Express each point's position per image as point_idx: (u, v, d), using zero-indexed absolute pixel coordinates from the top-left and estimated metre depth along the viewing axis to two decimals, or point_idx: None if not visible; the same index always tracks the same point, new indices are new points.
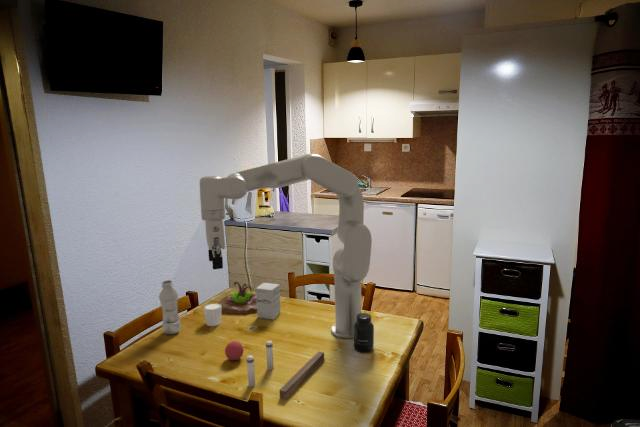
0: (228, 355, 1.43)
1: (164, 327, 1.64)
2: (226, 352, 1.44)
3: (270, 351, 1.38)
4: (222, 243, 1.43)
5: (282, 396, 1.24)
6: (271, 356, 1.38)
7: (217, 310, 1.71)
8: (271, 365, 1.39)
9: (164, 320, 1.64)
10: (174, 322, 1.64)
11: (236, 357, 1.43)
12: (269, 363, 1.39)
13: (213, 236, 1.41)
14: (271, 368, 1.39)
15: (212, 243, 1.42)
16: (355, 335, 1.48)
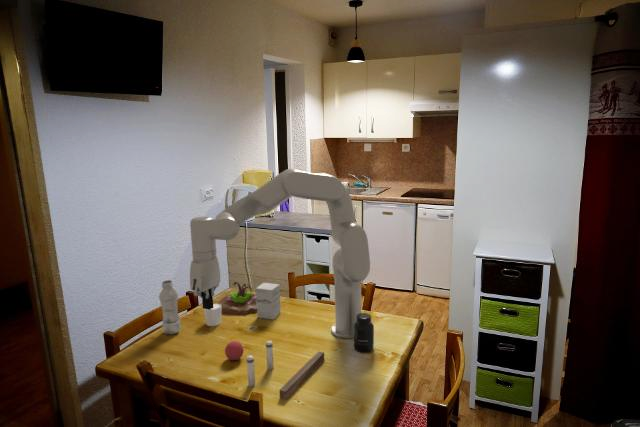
0: (228, 355, 1.43)
1: (164, 327, 1.64)
2: (226, 352, 1.44)
3: (270, 351, 1.38)
4: None
5: (282, 396, 1.24)
6: (271, 356, 1.38)
7: (218, 310, 1.71)
8: (271, 365, 1.39)
9: (164, 320, 1.64)
10: (174, 322, 1.64)
11: (236, 357, 1.43)
12: (269, 363, 1.39)
13: None
14: (271, 368, 1.39)
15: None
16: (355, 335, 1.48)
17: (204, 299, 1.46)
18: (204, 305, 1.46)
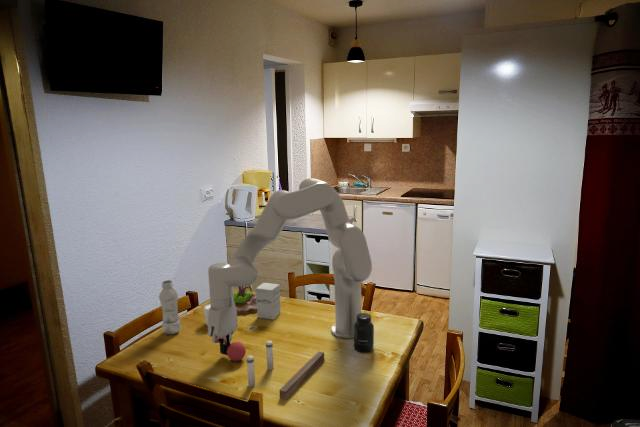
0: (230, 356, 1.43)
1: (164, 327, 1.64)
2: (228, 353, 1.43)
3: (270, 351, 1.38)
4: None
5: (282, 396, 1.24)
6: (271, 356, 1.38)
7: None
8: (271, 365, 1.39)
9: (164, 320, 1.64)
10: (174, 322, 1.64)
11: (238, 359, 1.43)
12: (269, 363, 1.39)
13: None
14: (271, 368, 1.39)
15: None
16: (355, 335, 1.48)
17: (222, 345, 1.46)
18: (222, 351, 1.46)
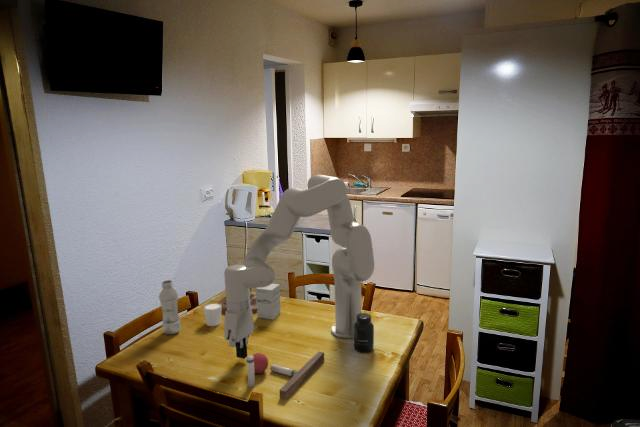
0: None
1: (164, 327, 1.64)
2: (255, 372, 1.37)
3: None
4: None
5: (282, 396, 1.24)
6: None
7: (217, 310, 1.71)
8: None
9: (164, 320, 1.64)
10: (174, 322, 1.64)
11: None
12: None
13: None
14: None
15: None
16: (355, 335, 1.48)
17: (238, 348, 1.43)
18: (238, 354, 1.43)
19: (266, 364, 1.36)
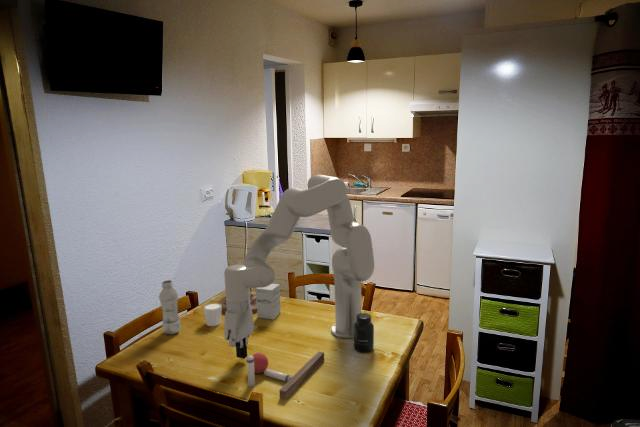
0: None
1: (164, 327, 1.64)
2: (255, 372, 1.37)
3: (283, 374, 1.33)
4: None
5: (282, 396, 1.24)
6: (278, 372, 1.34)
7: (218, 310, 1.71)
8: (270, 370, 1.35)
9: (164, 320, 1.64)
10: (174, 322, 1.64)
11: None
12: (273, 370, 1.35)
13: None
14: (267, 369, 1.36)
15: None
16: (355, 335, 1.48)
17: (238, 348, 1.43)
18: (238, 354, 1.43)
19: (266, 364, 1.36)
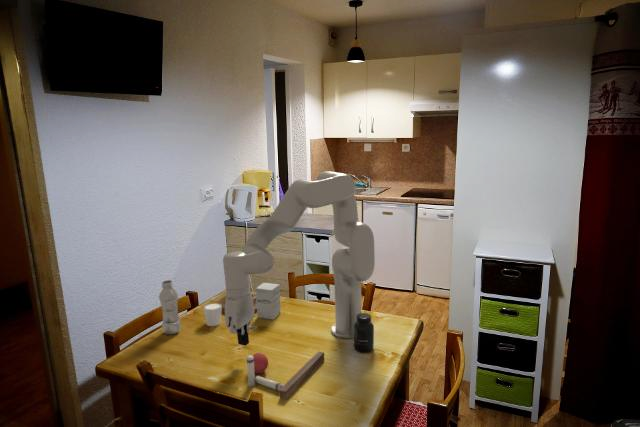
0: None
1: (164, 327, 1.64)
2: (255, 372, 1.37)
3: None
4: None
5: (282, 396, 1.24)
6: None
7: (217, 310, 1.71)
8: None
9: (164, 320, 1.64)
10: (174, 322, 1.64)
11: None
12: None
13: None
14: None
15: None
16: (355, 335, 1.48)
17: (240, 335, 1.42)
18: (240, 341, 1.43)
19: (266, 364, 1.36)
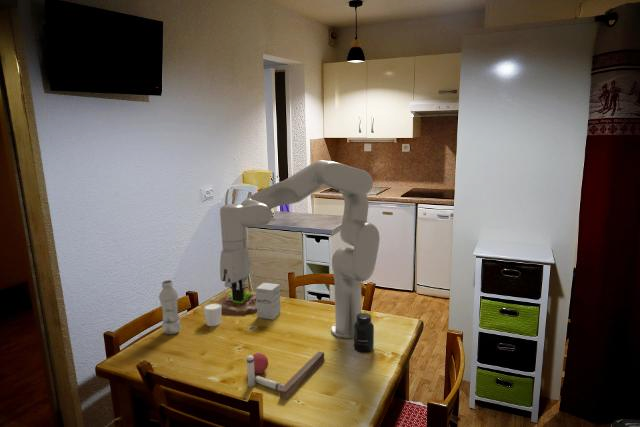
0: None
1: (164, 327, 1.64)
2: (255, 372, 1.37)
3: None
4: None
5: (282, 396, 1.24)
6: None
7: (218, 310, 1.71)
8: None
9: (164, 320, 1.64)
10: (174, 322, 1.64)
11: None
12: None
13: None
14: None
15: None
16: (355, 335, 1.48)
17: (234, 291, 1.39)
18: (234, 297, 1.40)
19: (266, 364, 1.36)
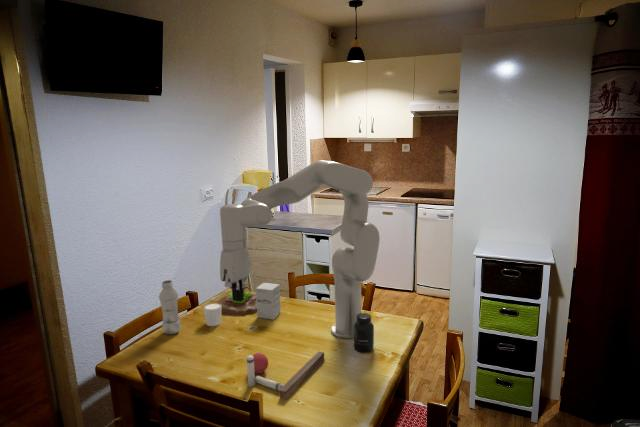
0: None
1: (164, 327, 1.64)
2: (255, 372, 1.37)
3: None
4: None
5: (282, 396, 1.24)
6: None
7: (218, 310, 1.71)
8: None
9: (164, 320, 1.64)
10: (174, 322, 1.64)
11: None
12: None
13: None
14: None
15: None
16: (355, 335, 1.48)
17: (234, 291, 1.39)
18: (234, 297, 1.40)
19: (266, 364, 1.36)
